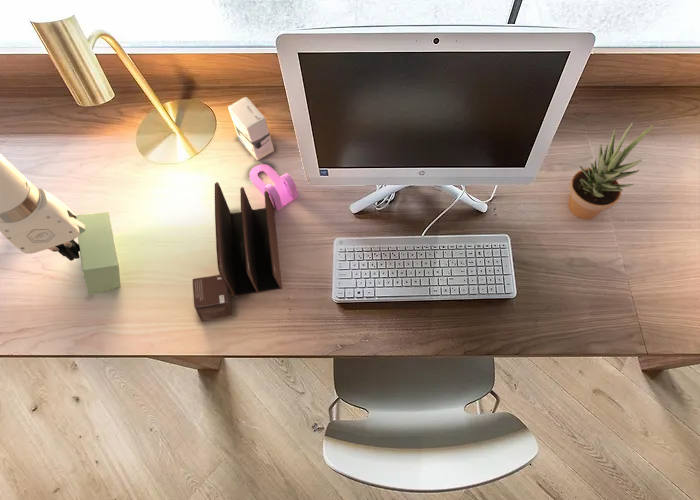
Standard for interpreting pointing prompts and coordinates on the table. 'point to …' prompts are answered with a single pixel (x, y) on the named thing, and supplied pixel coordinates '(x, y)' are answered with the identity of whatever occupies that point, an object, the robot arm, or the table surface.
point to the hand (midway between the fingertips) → (74, 253)
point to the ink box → (251, 128)
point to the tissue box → (98, 253)
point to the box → (211, 297)
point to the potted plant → (601, 180)
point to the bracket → (282, 189)
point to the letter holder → (247, 246)
